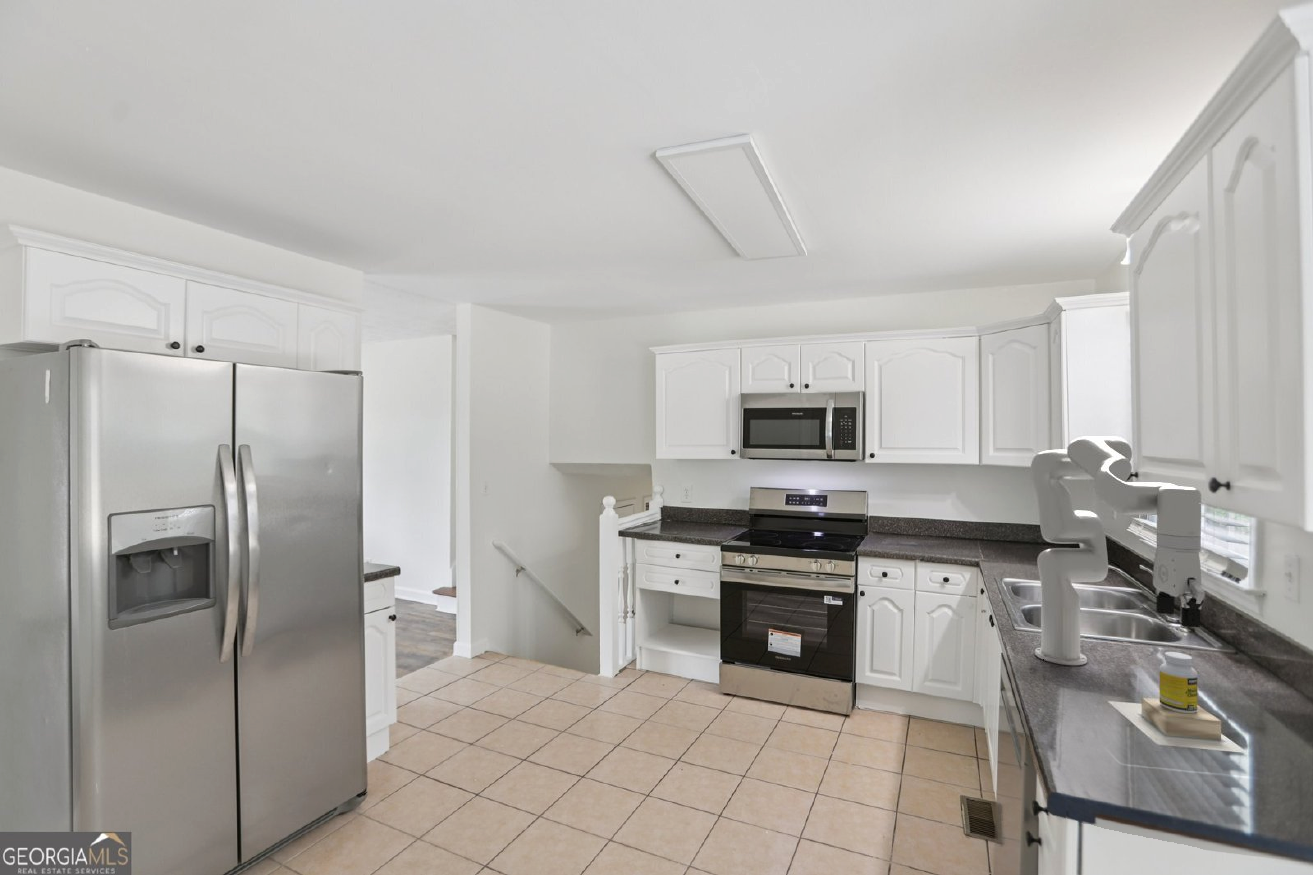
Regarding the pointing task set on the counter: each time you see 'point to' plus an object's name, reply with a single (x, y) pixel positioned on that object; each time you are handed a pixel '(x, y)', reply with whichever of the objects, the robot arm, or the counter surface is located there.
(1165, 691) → the pill bottle
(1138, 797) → the counter surface
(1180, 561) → the robot arm
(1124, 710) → the off-white paper sheet
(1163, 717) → the pedestal block
